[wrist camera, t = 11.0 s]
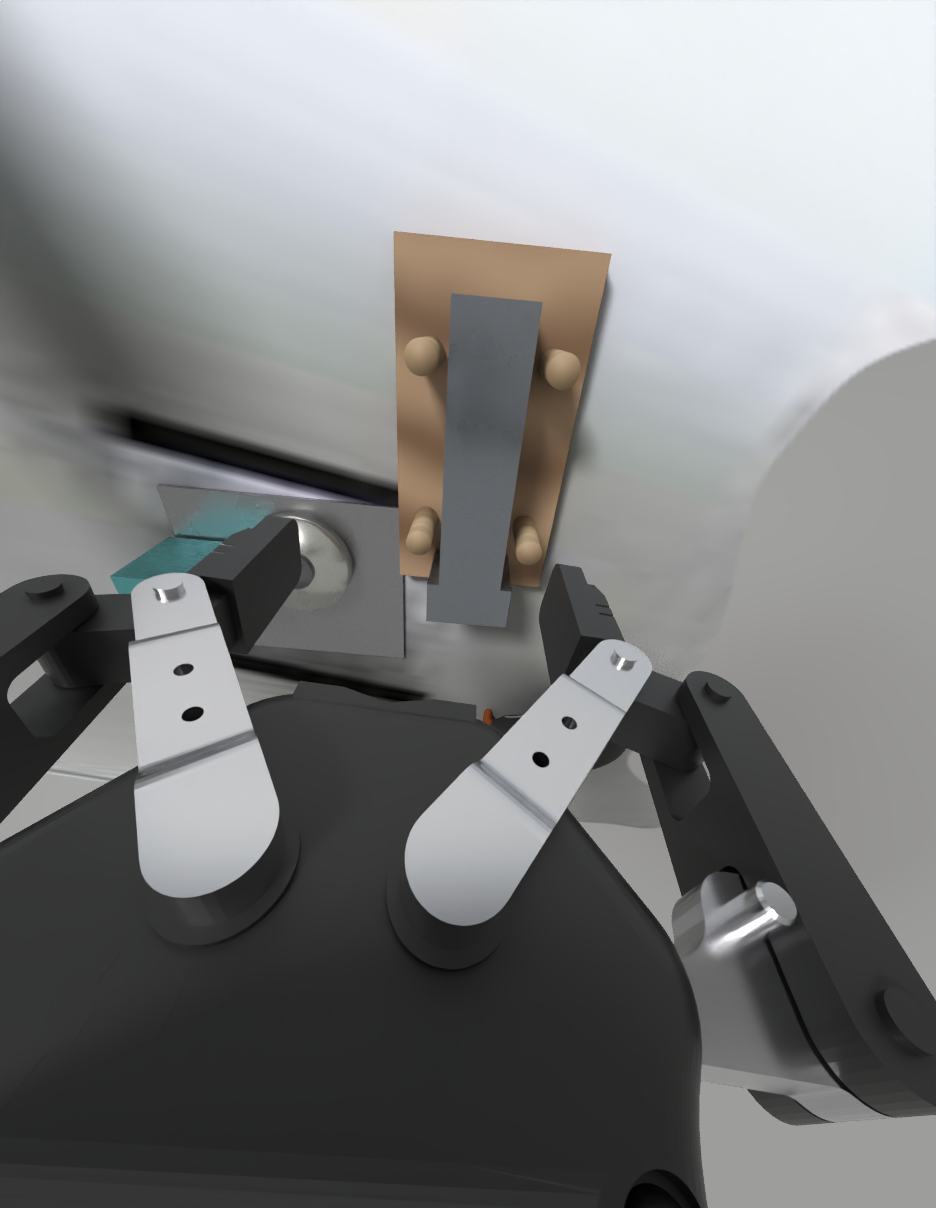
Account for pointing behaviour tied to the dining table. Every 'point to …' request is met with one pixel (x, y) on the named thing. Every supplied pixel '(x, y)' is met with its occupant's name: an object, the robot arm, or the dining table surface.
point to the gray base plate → (371, 537)
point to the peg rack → (422, 374)
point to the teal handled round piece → (318, 544)
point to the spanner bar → (481, 456)
